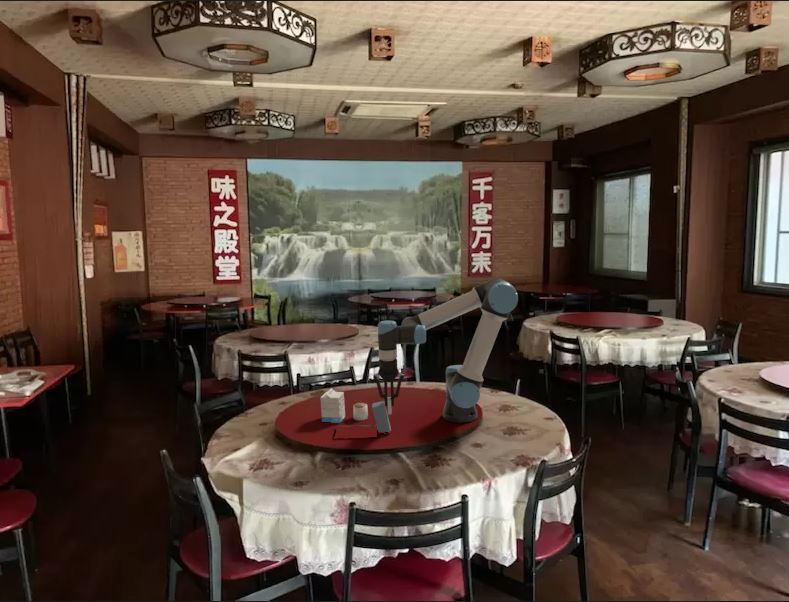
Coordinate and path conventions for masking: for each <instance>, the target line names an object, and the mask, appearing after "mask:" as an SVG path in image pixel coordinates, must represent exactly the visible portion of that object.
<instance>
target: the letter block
mask: <svg viewBox="0 0 789 602" xmlns="http://www.w3.org/2000/svg"><path fill="white" fill-rule="evenodd" d="M371 406H372V407H371V408H372V409H371V410H372V413H373V417H374V420H375V425H377V429H378V432H388V433H391V432H392V429H391V423H390V420H389V415H388V409H387V408H386V407H387V406H385V400H382V401H377V402H373V403H372V404H371ZM390 431H391V432H390Z"/></svg>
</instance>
